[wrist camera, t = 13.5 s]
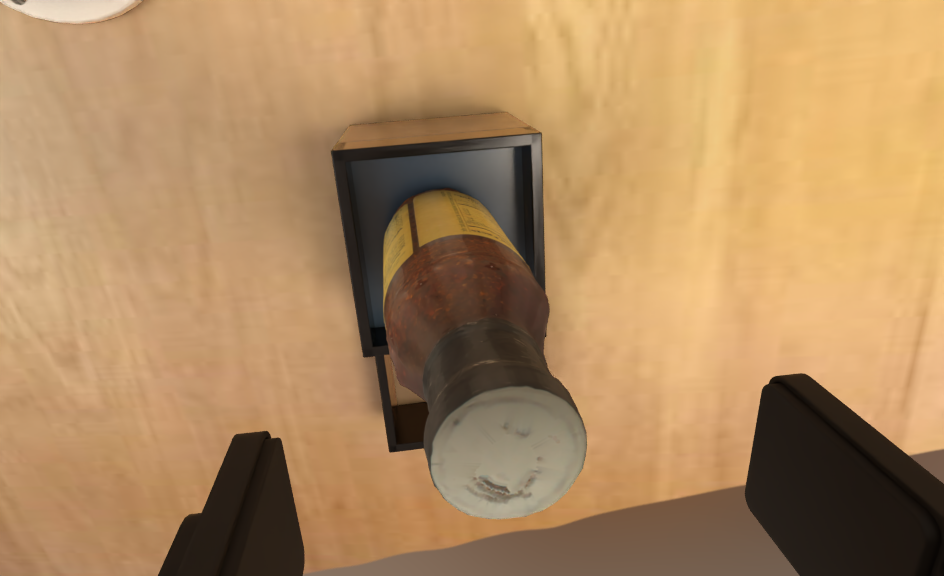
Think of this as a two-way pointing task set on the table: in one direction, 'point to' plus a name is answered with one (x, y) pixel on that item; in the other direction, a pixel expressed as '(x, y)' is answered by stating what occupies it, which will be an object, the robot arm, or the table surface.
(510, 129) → the bottle rack
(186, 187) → the table surface
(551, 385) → the sauce bottle
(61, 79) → the table surface
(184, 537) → the robot arm
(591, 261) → the table surface
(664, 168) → the table surface
